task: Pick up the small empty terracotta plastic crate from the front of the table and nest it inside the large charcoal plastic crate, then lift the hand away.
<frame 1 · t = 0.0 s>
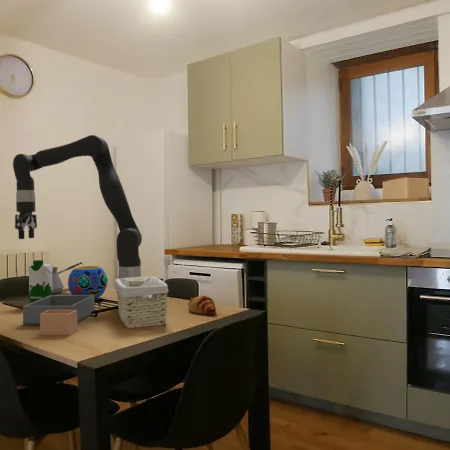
hand: (26, 238, 195), 29 cm above the table, fingers open, 8 cm apart
big crate: (61, 318, 170), on the table
small crate: (59, 332, 149), on the table
storage basket: (141, 321, 166), on the table
coffee pot: (62, 292, 230), on the table
ceramic pot: (88, 300, 209), on the table
milk carton: (41, 306, 195), on the table
croissant: (202, 312, 181), on the table
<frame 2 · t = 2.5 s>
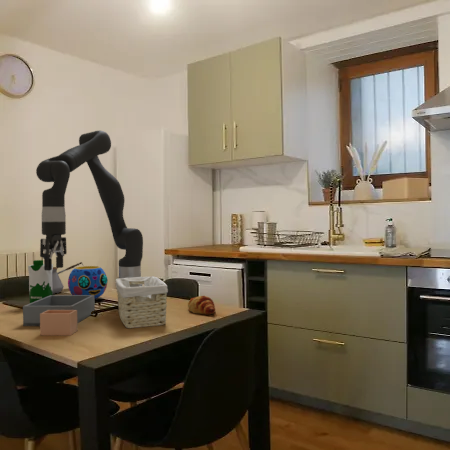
hand: (54, 268, 151), 21 cm above the table, fingers open, 8 cm apart
nothing on the table moved.
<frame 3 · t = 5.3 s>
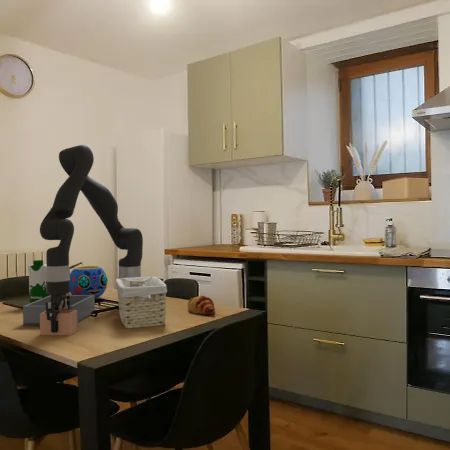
hand: (59, 329, 149), 1 cm above the table, fingers closed on small crate, 6 cm apart
small crate: (59, 332, 149), on the table, touching gripper
everything else where it was.
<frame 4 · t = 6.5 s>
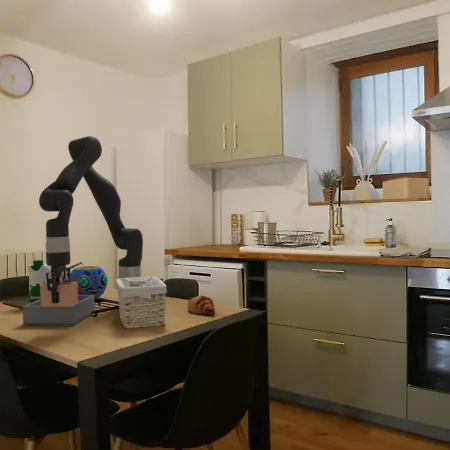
hand: (59, 300, 149), 11 cm above the table, fingers closed on small crate, 6 cm apart
small crate: (59, 304, 149), point 9 cm above the table, touching gripper
everything else where it was.
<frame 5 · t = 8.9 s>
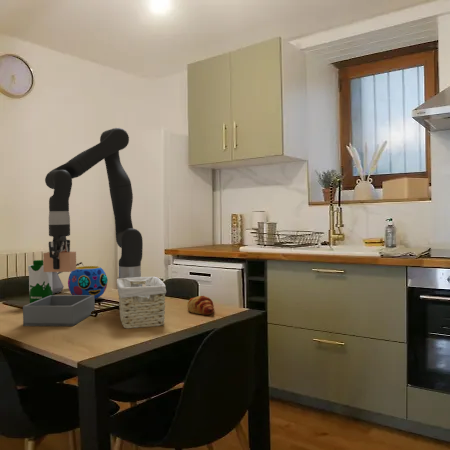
hand: (60, 267, 169), 19 cm above the table, fingers closed on small crate, 6 cm apart
small crate: (60, 270, 169), point 18 cm above the table, touching gripper
everything else where it was.
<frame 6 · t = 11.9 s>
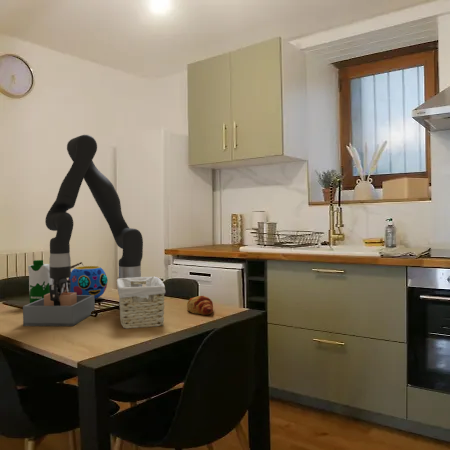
hand: (60, 309, 170), 4 cm above the table, fingers closed on small crate, 6 cm apart
small crate: (60, 312, 170), point 2 cm above the table, touching gripper
everything else where it was.
when the fingers open (4 cm above the table, at t = 12.7 s): small crate drops 1 cm, resting on big crate.
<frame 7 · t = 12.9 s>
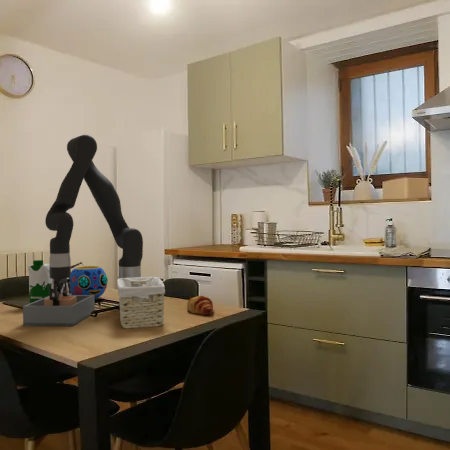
hand: (60, 308, 170), 4 cm above the table, fingers open, 7 cm apart
small crate: (61, 316, 170), point 1 cm above the table, touching big crate
everything else where it was.
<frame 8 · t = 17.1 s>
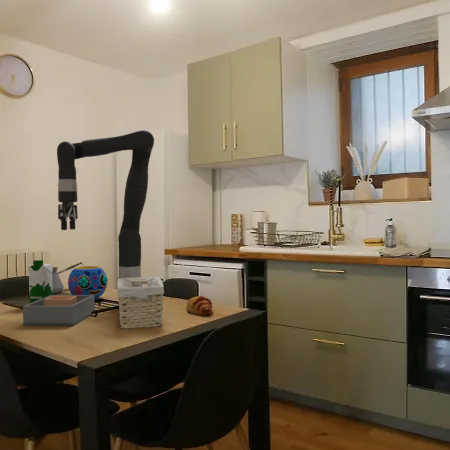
hand: (68, 229, 187), 33 cm above the table, fingers open, 8 cm apart
at the end: small crate inside the target area on the big crate (0.0 cm from its centre), point 1.0 cm above the big crate's base; small crate tilted 0°; the gripper is holding nothing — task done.
